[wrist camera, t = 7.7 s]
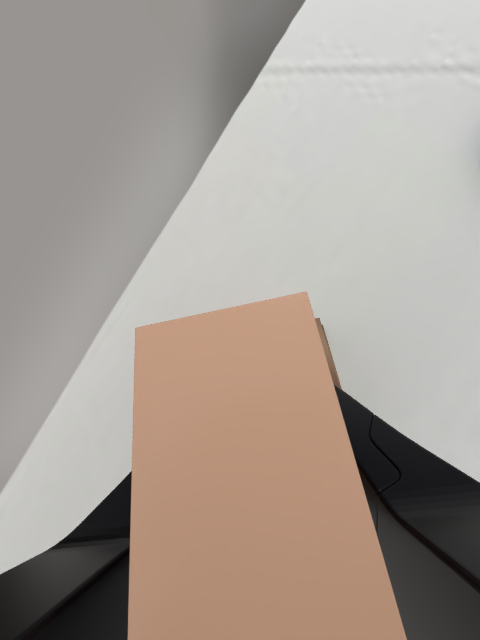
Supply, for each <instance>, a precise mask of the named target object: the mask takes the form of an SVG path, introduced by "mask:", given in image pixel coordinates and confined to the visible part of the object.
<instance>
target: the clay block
mask: <svg viewBox="0 0 480 640" xmlns="http://www.w3.org/2000/svg"><path fill="white" fill-rule="evenodd" d="M128 640H407V638H406V635H405V631H404V628H403V624H402V621H401V617H400V614H399V610H398V607H397V603H396V600H395V596H394V593H393V589H392V586H391V582H390V579H389V575H388V572H387V568H386V565H385V561H384V558H383V555H382V551H381V548H380V544H379V541H378V537H377V534H376V530H375V527H374V523H373V520H372V516H371V513H370V509H369V506H368V502H367V499H366V495H365V492H364V488H363V485H362V481H361V478H360V475H359V471H358V468H357V464H356V461H355V457H354V454H353V450H352V447H351V443H350V440H349V436H348V433H347V429H346V426H345V422H344V419H343V415H342V412H341V408H340V405H339V401H338V398H337V395H336V391H335V388H334V384H333V381H332V377H331V374H330V370H329V367H328V363H327V360H326V356H325V353H324V349H323V346H322V342H321V339H320V335H319V332H318V328H317V325H316V321H315V318H314V315H313V311H312V308H311V304H310V301H309V297H308V294H307V292H302V293H297V294H292V295H288V296H283V297H278V298H274V299H269V300H264V301H260V302H255V303H250V304H245V305H241V306H236V307H231V308H227V309H222V310H217V311H212V312H208V313H203V314H198V315H194V316H189V317H184V318H179V319H175V320H170V321H165V322H161V323H156V324H151V325H146V326H142V327H137V328H135V363H134V403H133V444H132V484H131V524H130V565H129V605H128Z"/></svg>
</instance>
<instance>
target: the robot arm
mask: <svg viewBox="0 0 480 640" xmlns="http://www.w3.org/2000/svg"><path fill="white" fill-rule="evenodd" d="M334 388H335V391H336V395H337V398H338V401H339V405H340V408H341V412H342V415H343V419H344V422H345V426H346V429H347V433H348V436H349V440H350V443H351V447H352V450H353V454H354V457H355V461H356V464H357V468H358V471H359V475H360V478H361V481H362V485H363V488H364V492H365V495H366V499H367V502H368V506H369V509H370V513H371V516H372V520H373V523H374V527H375V530H376V534H377V537H378V541H379V544H380V548H381V551H382V555H383V558H384V561H385V565H386V568H387V572H388V575H389V579H390V582H391V586H392V589H393V593H394V596H395V600H396V603H397V607H398V610H399V614H400V617H401V621H402V624H403V628H404V631H405V635H406V638H407V640H480V483H479V482H478V481H476V480H475V479H473V478H471V477H470V476H468V475H467V474H465V473H463V472H462V471H460V470H458V469H457V468H455V467H454V466H452V465H450V464H449V463H447V462H446V461H444V460H442V459H441V458H439V457H437V456H436V455H434V454H433V453H431V452H429V451H428V450H426V449H425V448H423V447H421V446H420V445H418V444H417V443H415V442H414V441H412V440H411V439H409V438H407V437H406V436H404V435H403V434H401V433H400V432H399V431H397V430H396V429H394V428H393V427H392V426H390V425H389V424H387V423H386V422H385V421H383V420H382V419H380V418H379V417H378V416H376V415H374V414H373V413H372V412H371V411H370V410H368V409H367V408H366V407H364V406H363V405H362V404H360V403H359V402H357V401H356V400H355V399H353V398H352V397H351V396H349V395H348V394H347V393H345V392H344V391H343V390H341V389H340V388H339V387H337V386H336V385H335V384H334ZM131 484H132V471H131V472H130V473H129V474H128V475H127V476H126V477H125V479H124V480H123V481H122V482H121V483H120V484H119V485H118V486H117V487H116V488H115V489H114V490H113V491H112V492H111V493H110V494H109V495H108V496H107V497H106V498H105V499H104V500H103V501H102V502H101V503H100V504H99V505H98V506H97V507H96V508H95V509H94V510H93V511H92V512H91V513H90V514H89V515H88V516H87V517H86V518H85V519H84V521H83V522H82V523H81V524H80V525H79V526H78V527H76V528H75V529H74V530H73V531H72V532H71V533H70V534H69V535H68V536H66V537H65V538H64V539H63V540H61V541H60V542H59V543H57V544H56V545H55V546H53V547H51V548H50V549H48V550H47V551H45V552H43V553H41V554H39V555H37V556H35V557H33V558H31V559H29V560H28V561H26V562H24V563H22V564H20V565H18V566H16V567H14V568H12V569H10V570H8V571H6V572H4V573H2V574H0V640H128V605H129V565H130V524H131Z"/></svg>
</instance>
